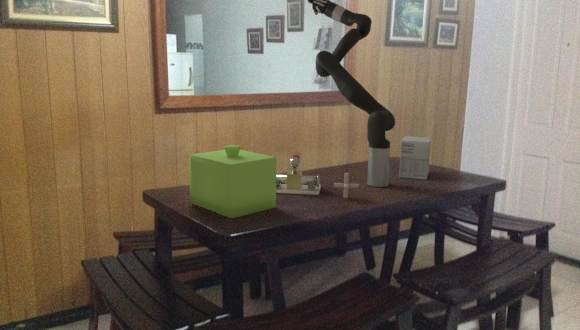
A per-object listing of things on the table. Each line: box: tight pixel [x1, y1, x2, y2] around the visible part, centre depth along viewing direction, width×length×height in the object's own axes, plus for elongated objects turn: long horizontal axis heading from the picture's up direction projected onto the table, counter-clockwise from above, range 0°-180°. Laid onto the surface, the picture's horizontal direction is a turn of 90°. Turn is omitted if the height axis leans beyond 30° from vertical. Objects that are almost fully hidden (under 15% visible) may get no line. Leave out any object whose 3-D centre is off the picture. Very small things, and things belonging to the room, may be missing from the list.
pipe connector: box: [333, 172, 360, 199], centre depth 205 cm, size 10×10×10 cm
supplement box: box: [398, 135, 432, 181], centre depth 247 cm, size 17×13×18 cm
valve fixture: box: [276, 167, 322, 196], centre depth 215 cm, size 22×12×10 cm, turn 83°
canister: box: [188, 144, 277, 219], centre depth 190 cm, size 25×21×23 cm
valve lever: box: [289, 152, 302, 168], centre depth 219 cm, size 15×4×4 cm, turn 173°
